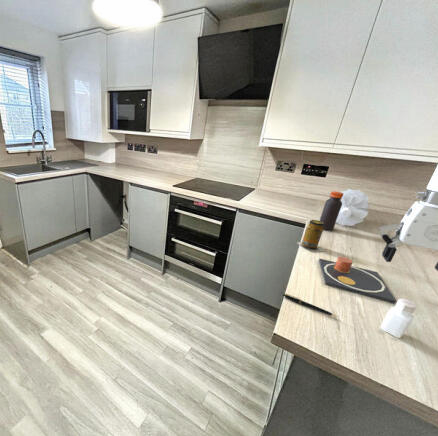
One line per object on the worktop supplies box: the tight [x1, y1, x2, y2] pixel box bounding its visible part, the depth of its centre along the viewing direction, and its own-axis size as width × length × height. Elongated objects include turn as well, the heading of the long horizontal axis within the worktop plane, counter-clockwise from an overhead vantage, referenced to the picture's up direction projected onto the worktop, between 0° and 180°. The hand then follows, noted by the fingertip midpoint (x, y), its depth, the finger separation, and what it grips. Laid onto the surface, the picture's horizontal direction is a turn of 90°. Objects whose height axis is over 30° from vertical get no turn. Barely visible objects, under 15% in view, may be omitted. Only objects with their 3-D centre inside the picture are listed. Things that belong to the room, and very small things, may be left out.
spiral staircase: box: [335, 188, 370, 227], centre depth 135 cm, size 18×18×25 cm
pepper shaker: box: [380, 298, 418, 339], centre depth 60 cm, size 4×4×10 cm
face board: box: [318, 257, 397, 304], centre depth 83 cm, size 18×18×1 cm
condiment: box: [297, 219, 326, 253], centre depth 103 cm, size 7×8×12 cm
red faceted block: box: [334, 256, 354, 272], centre depth 87 cm, size 4×4×4 cm
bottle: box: [319, 190, 343, 232], centre depth 123 cm, size 7×7×20 cm
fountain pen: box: [282, 293, 339, 318], centre depth 69 cm, size 14×1×2 cm, turn 52°
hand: (411, 265), depth 59 cm, fingers open, 9 cm apart
